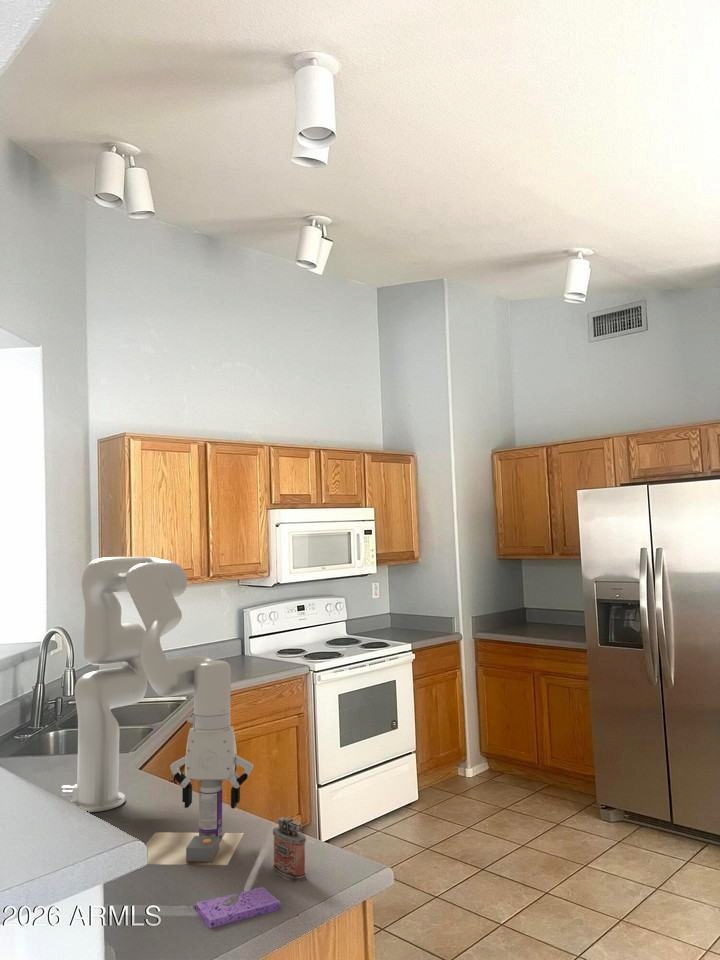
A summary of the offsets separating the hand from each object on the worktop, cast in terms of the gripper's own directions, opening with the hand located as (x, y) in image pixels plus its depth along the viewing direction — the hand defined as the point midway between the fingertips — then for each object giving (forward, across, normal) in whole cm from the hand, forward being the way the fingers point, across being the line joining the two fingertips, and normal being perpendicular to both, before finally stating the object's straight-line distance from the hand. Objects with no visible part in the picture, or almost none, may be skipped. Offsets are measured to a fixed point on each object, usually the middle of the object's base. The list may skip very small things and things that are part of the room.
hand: (211, 805), depth 156 cm
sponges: (+9, +12, -27) cm, 31 cm away
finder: (+7, 0, -8) cm, 11 cm away
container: (+7, 0, 0) cm, 7 cm away
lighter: (+8, +18, -13) cm, 24 cm away
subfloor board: (+8, -3, -4) cm, 10 cm away
